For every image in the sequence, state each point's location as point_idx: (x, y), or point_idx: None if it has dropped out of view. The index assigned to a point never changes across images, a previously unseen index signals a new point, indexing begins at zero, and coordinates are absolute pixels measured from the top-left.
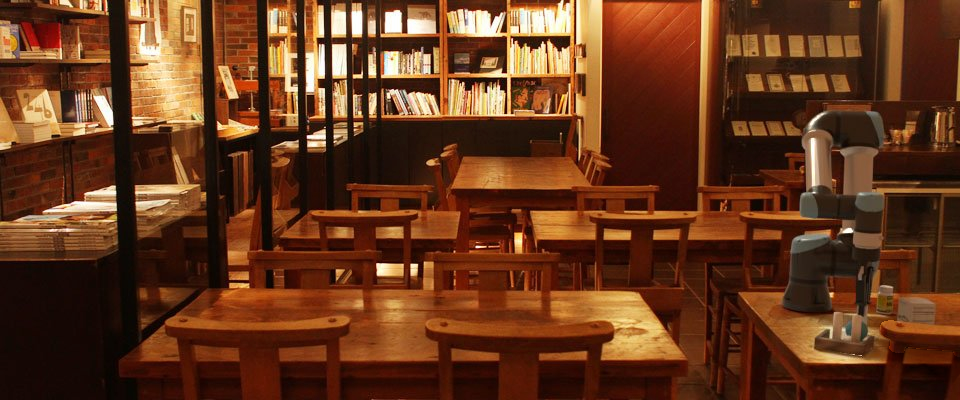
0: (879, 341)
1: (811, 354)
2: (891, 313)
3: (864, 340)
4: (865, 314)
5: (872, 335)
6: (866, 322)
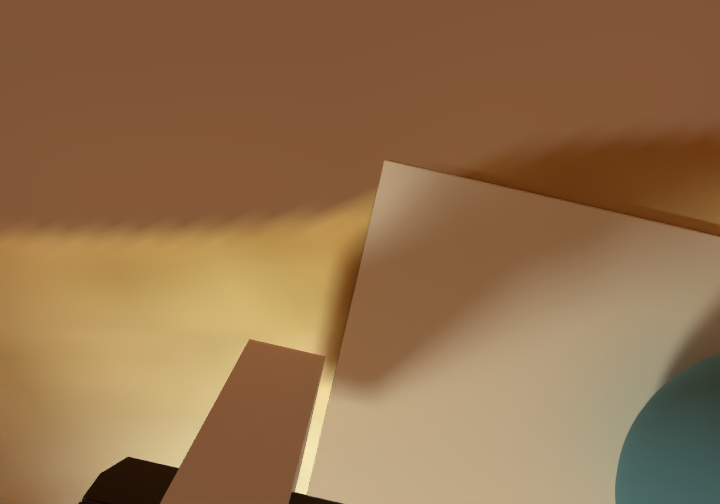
0: (645, 141)
1: None
2: None
3: (712, 335)
4: (288, 494)
5: (380, 232)
6: (259, 380)
